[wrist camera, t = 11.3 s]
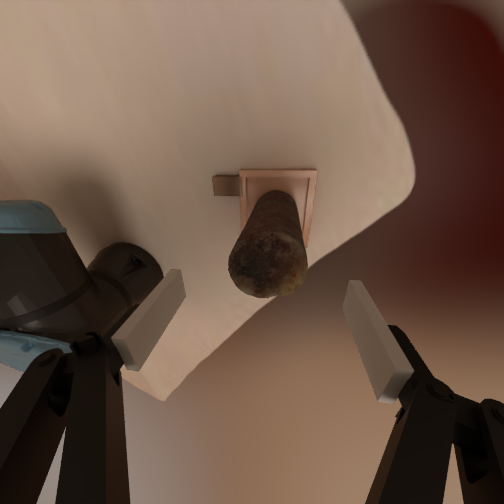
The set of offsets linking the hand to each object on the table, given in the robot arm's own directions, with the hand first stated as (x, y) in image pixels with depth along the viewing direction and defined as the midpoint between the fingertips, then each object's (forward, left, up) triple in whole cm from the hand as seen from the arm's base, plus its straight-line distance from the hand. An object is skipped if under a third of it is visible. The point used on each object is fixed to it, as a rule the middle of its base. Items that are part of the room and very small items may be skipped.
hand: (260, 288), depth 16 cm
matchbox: (-8, +4, -23) cm, 24 cm away
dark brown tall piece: (0, 0, -22) cm, 22 cm away
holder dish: (0, 0, -23) cm, 23 cm away
